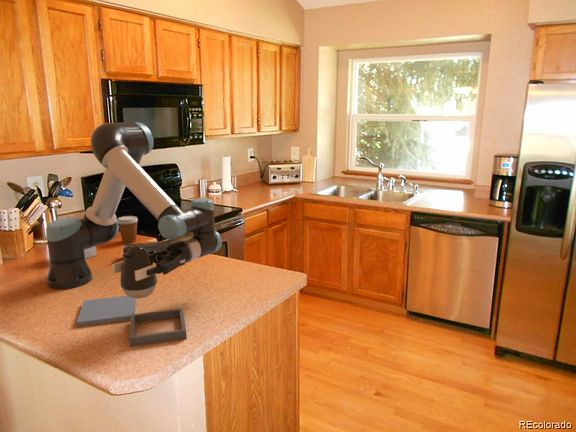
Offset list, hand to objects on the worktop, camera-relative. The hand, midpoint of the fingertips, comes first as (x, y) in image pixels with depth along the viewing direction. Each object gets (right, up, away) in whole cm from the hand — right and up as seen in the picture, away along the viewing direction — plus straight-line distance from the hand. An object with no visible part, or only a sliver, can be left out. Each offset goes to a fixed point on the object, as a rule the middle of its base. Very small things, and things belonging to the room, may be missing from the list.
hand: (124, 272), depth 123 cm
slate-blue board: (-11, -15, +15) cm, 24 cm away
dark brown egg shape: (+2, -8, +6) cm, 10 cm away
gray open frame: (+8, -17, +4) cm, 20 cm away
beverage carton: (-15, -3, +68) cm, 69 cm away
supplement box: (-44, -2, +69) cm, 82 cm away
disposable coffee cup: (-32, +3, +91) cm, 96 cm away
